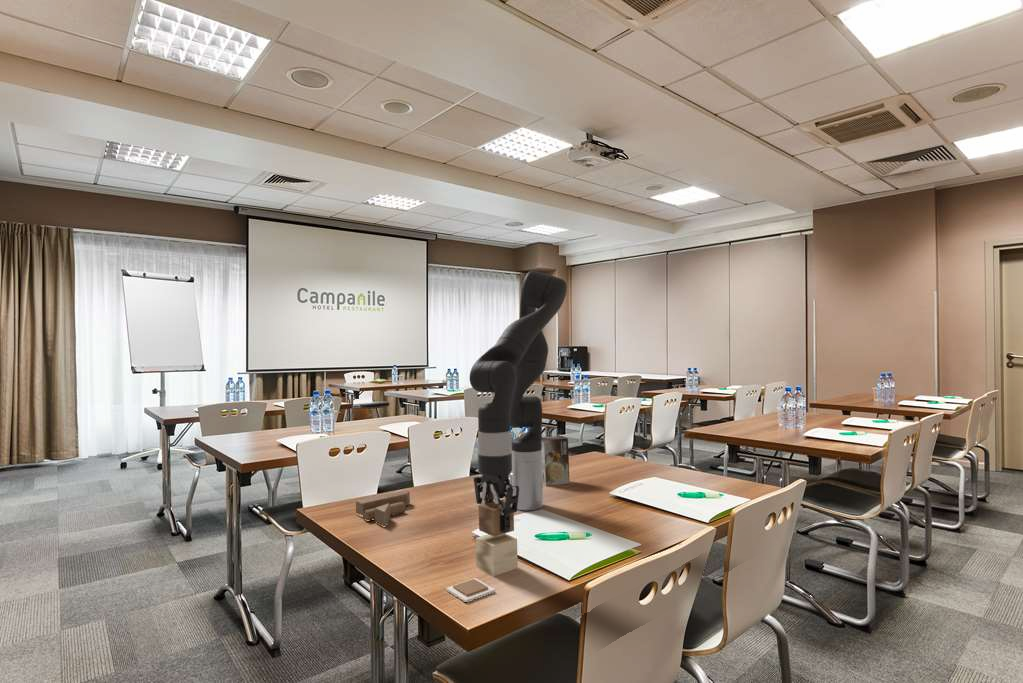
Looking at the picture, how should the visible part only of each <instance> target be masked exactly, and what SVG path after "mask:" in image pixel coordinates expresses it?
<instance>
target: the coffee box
mask: <svg viewBox="0 0 1023 683" xmlns="http://www.w3.org/2000/svg"><path fill="white" fill-rule="evenodd" d="M569 452H570V451H569V438H568V437H566V436H563V435H559V436H558V435H555V436H544V437H543V436H542V485H544V486H545V487H549V486H559V485H561V486H562V485H568V484H570V481H571V480H570V478H571V477H570V457H569V454H570V453H569Z"/></svg>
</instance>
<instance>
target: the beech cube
mask: <svg viewBox="0 0 1023 683" xmlns="http://www.w3.org/2000/svg"><path fill="white" fill-rule="evenodd" d="M475 557H476V558H475V559H476V560H475V561H476V562H475V563H476V565H475V566H476V568H478V569H479V570H481V571H483V572H485V573H487V574H489V575H490V576H492V577H495V576H499V575H502V574H505V573H507V572H510V571H513V570H517V569H518V568H519V567H518V562H519V561H518V559H519V558H518V538H516V537H514V536H512V535H510V534H508V533H505V534H501V535H498V536H491V535H489V534H487V533H486V534H484V535H480V536H478V537H477V536H476V537H475Z"/></svg>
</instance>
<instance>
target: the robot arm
mask: <svg viewBox="0 0 1023 683" xmlns="http://www.w3.org/2000/svg"><path fill="white" fill-rule="evenodd" d="M567 288H568V287H567V282H566V281H565V280H564V279H562V278H561V277H557V276H555V275H551V274H548V273H544V272H541V271H537V270H530V271H528V272H527V273H526V275H525V277H524V278H523V281H522V285H521V290H520V299H519V300H520V301H519V318H518V319H517V320H514V321H513V322H512V323H510V324H509V325H508V326H506V328H505V329H504V331H503V332H502V333H501V335H500V336H499V338H498V339H497V341H496V343H495V344H494V345H493V346H492V347H491V348H489V349H488V350H487V351H486V352H484V353H483V354H482V355H481V356H480V357H479V358H478V359H477V360H476V361H475V362H474V364H473V365H472V367H471V369H470V371H469V383H470V386H471V387H472V389H473V390H475V391H477V392H478V393H492V394H494V395H493V398H492V401H491V402H489V403H484V404H482V405H480V406H479V407H478V410H477V416H478V418H477V419H478V420H477V423H478V424H477V425H478V427H477V428H478V429H477V430H478V433H477V434H478V435H477V471H478V474H480V475H479V476H474V477H473V484H474V492H475V501H476V504H477V505H481V504H486V503H490V502H494V501H495V504H496V505H497V506H498V508H499V512H500V531H501V532H502V533H505V532H508V531H509V530H510V514H511V513H514V514H515V513H518V511H536V510H540V509H542V508H543V507H544V502H543V501H544V500H543V499H544V497H543V496H544V494H543V487H544V486H543V485H544V484H542V437H543V431H542V430H543V405H542V404H543V403H542V401H541V399H540V397H538V396H536V395H534V396H531V395H530V396H529V395H528V396H524V395H525V393H526V392H527V390H528V389H529V388H530V387H531V386H532V385H533V384H534V383H535V382H536V381H538V379H539V378H540V377H541V376H542V374H543V373H544V371H545V369H546V365H547V361H548V360H547V359H548V356H549V346H548V343H547V339H546V337H545V335H544V332H543V331H542V330H544V328H545V327H546V326H547V325H548V324H549V322H550V321H551V320H552V319H553V318H554V317H555V316H556V314H557V313H558V312H559V311H560V309H561V307H562V306H563V304H564V301H565V298H566V295H567V291H568V290H567ZM511 428H528V430H527V431H525V433H524V434H522V435H520V436H518V437H516V438H514V439H512V434H511ZM503 503H504V504H505V509H504V508H503ZM511 505H512V507H511ZM508 533H509V532H508ZM505 534H506V533H505Z"/></svg>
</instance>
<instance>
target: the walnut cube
mask: <svg viewBox="0 0 1023 683" xmlns="http://www.w3.org/2000/svg"><path fill="white" fill-rule="evenodd" d="M511 507H512V505H511ZM503 508H504V509H505V504H504V503H503ZM514 515H515V513H511V514H510V530H509V531H508V532H505V533H502V532H501V531H500V512H499V508H498V506H497V505H496V504H495V500H494V502H490V503H486V504H478V530H479V531H480V532H483V533H484V534H486V535H487V534H489V535H491V536H498V535H501V534H508V533H512V532H514V531H515V516H514Z"/></svg>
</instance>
